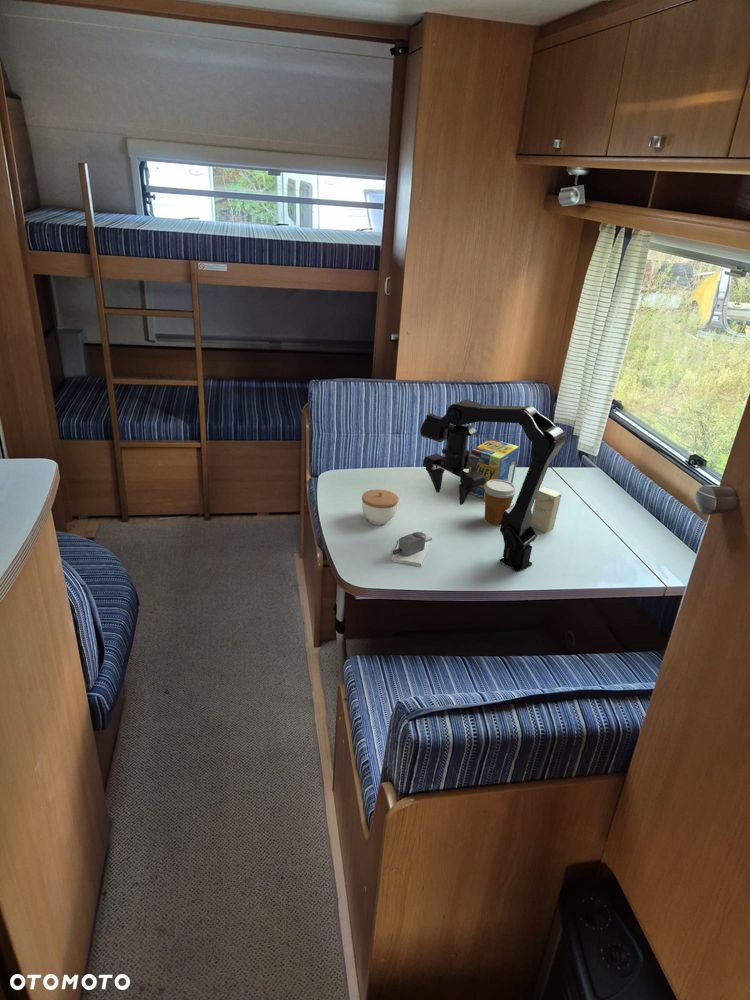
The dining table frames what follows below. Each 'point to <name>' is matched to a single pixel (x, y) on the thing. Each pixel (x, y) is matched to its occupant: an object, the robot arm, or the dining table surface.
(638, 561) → the dining table surface
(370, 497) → the lidded jar
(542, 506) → the skincare box
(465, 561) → the dining table surface
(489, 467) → the protein box
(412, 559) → the external hard drive
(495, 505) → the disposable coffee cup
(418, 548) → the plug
